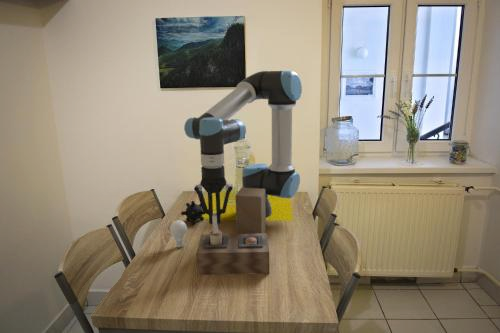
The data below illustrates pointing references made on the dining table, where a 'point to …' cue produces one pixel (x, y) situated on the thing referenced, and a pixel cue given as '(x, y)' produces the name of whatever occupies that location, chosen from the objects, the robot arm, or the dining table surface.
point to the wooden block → (250, 211)
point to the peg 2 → (250, 240)
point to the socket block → (233, 255)
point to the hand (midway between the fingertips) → (215, 232)
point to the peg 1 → (216, 238)
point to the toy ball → (193, 212)
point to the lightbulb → (178, 232)
